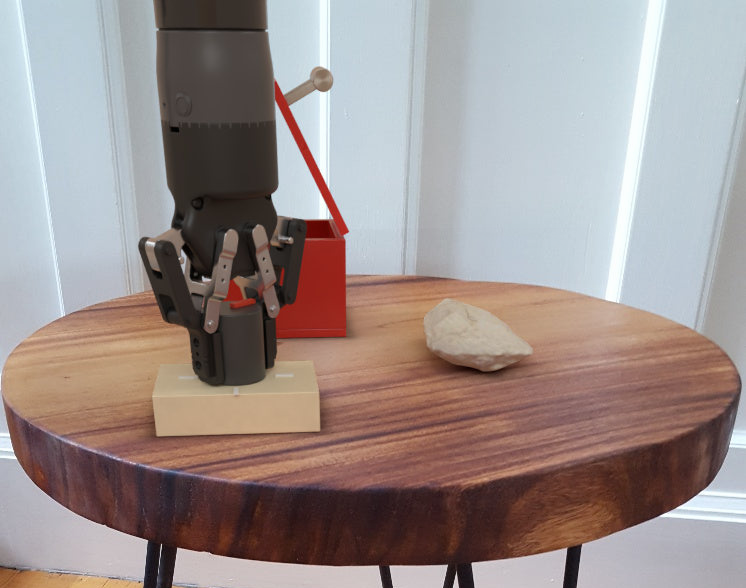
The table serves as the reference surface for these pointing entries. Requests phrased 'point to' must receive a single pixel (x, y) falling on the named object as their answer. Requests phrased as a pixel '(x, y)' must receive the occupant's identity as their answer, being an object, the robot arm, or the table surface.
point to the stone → (472, 337)
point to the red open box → (314, 286)
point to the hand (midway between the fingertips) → (236, 373)
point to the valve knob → (242, 342)
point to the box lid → (322, 83)
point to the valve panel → (237, 402)
